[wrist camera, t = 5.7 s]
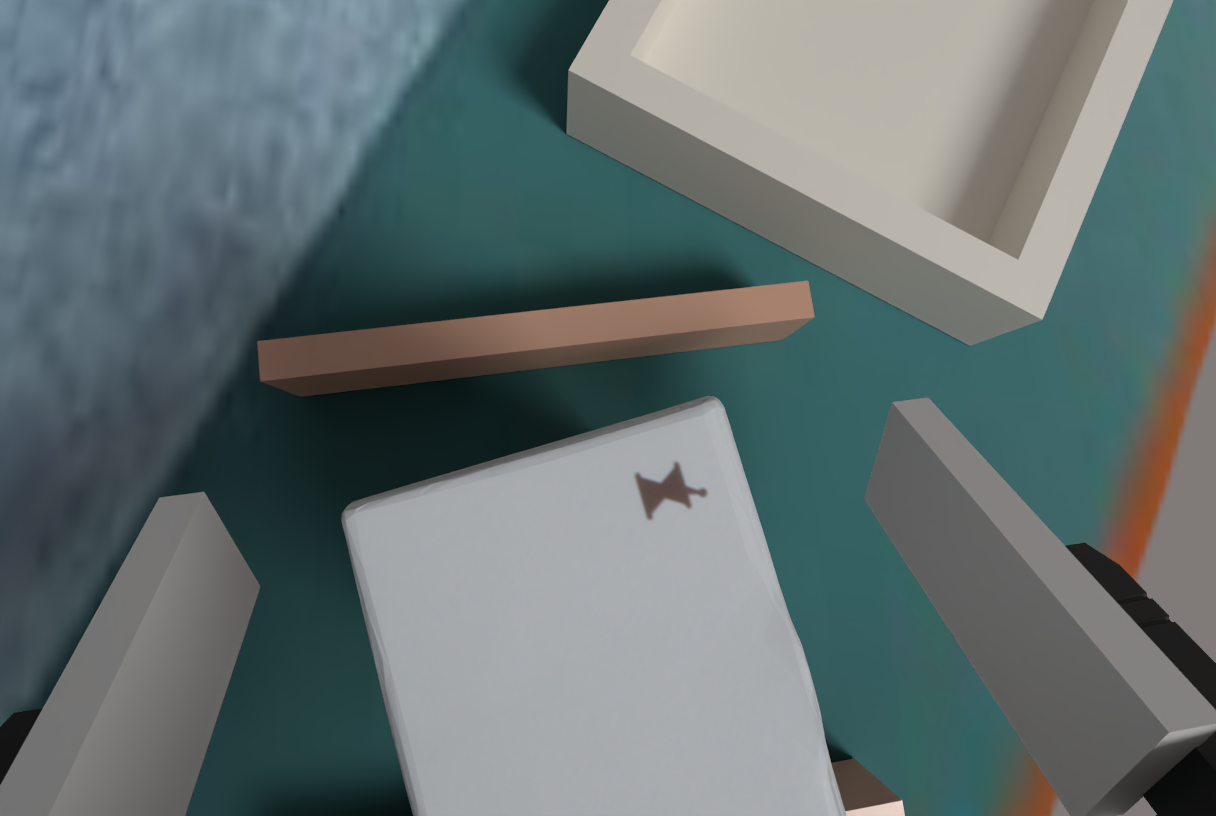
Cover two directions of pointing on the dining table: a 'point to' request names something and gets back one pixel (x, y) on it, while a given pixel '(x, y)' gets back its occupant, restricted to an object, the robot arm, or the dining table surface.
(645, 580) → the skincare box
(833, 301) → the dining table surface
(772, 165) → the cream tray
